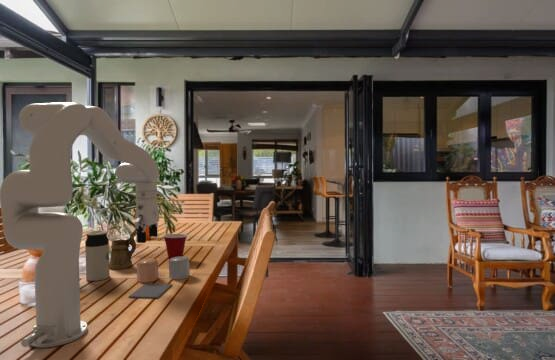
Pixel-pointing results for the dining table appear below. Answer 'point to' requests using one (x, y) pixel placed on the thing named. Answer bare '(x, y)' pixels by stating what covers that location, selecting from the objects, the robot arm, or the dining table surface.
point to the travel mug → (97, 255)
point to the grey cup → (179, 267)
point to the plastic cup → (175, 244)
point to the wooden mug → (122, 253)
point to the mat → (150, 291)
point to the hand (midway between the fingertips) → (147, 239)
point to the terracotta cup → (147, 270)
